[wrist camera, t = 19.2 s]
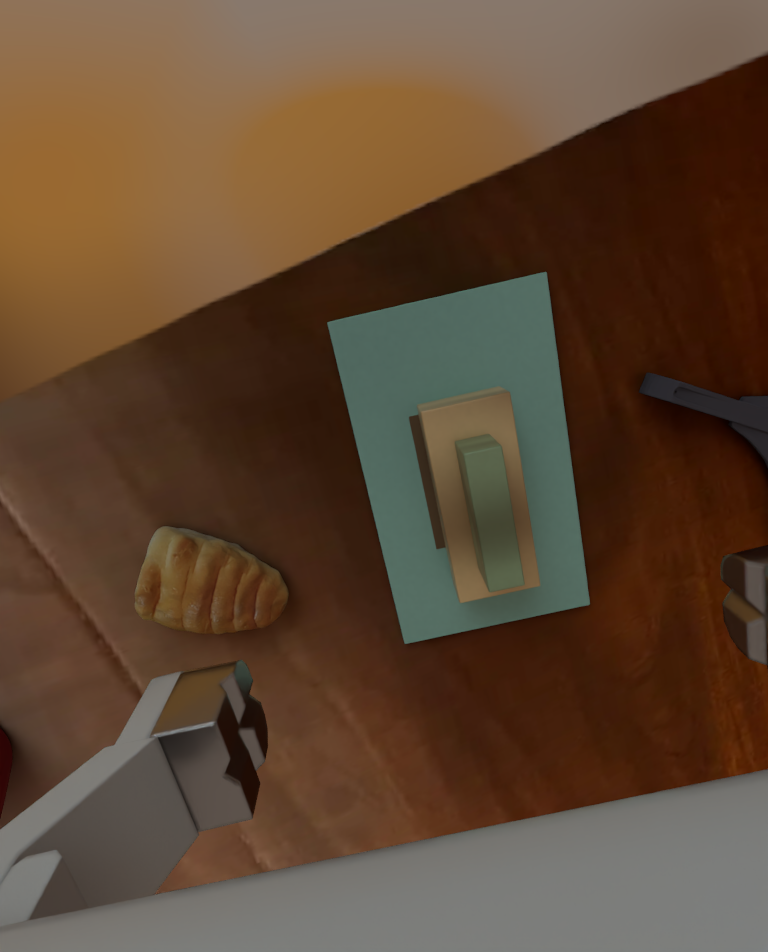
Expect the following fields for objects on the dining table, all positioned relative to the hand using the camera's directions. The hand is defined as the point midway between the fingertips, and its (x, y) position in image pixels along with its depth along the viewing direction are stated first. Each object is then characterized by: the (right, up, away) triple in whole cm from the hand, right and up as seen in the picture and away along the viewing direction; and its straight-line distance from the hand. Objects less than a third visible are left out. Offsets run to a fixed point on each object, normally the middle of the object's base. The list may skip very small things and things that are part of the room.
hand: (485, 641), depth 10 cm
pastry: (-13, -4, +29) cm, 32 cm away
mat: (+4, +3, +27) cm, 27 cm away
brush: (+4, +2, +27) cm, 27 cm away
